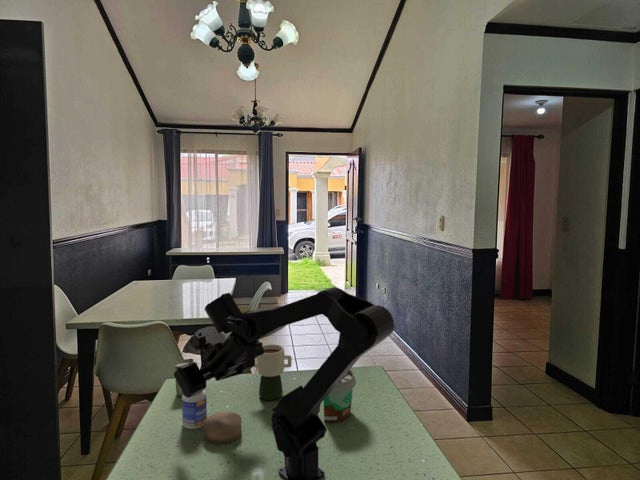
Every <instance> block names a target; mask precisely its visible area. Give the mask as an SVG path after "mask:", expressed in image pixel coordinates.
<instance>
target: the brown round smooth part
mask: <svg viewBox="0 0 640 480" xmlns="http://www.w3.org/2000/svg"><path fill="white" fill-rule="evenodd" d="M203 431H204V432H203V437H204V439H205V441H206V442H207V443H210V444H213V445H226V444H229V443H233V442H234V441H237V440H238V438H240V436H241V435H242V418H241V415H239V413H237V412H234V411H220V412H215V413H212V414H211V415H208V416H207V418H206V420H205V421H204V426H203Z"/></svg>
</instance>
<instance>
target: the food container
mask: <svg viewBox="0 0 640 480" xmlns="http://www.w3.org/2000/svg"><path fill="white" fill-rule="evenodd" d="M356 380H357V379H356V376H355V374H354V372H353V370H352V368H351V369H350V370H349V371H348V372H347V373H346V374H345V376H344V377H343V378H342V379H341V380H340V381H339V383H338V384H337V385H336V386H335V387H334V388H333V390H332V391H331V392H330V393H329V394H328V395H327V397H326V398H325V399H324V400H323V423H324V424H325V423H327V424H337V423H342V422H344V421H347V420H348V419H350V417H351V411H352V399H353V391H354V390H353V389H354V388H355V386H356V384H357V381H356Z"/></svg>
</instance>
